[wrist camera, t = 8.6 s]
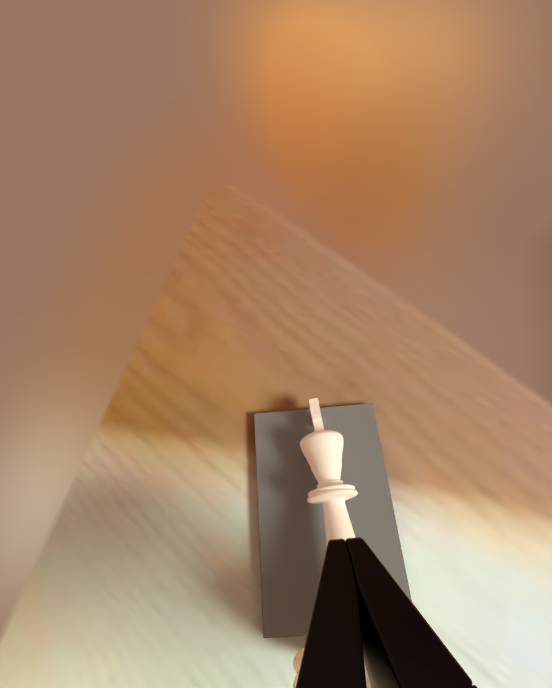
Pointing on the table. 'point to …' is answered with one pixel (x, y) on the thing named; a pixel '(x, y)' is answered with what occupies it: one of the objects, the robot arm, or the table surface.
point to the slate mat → (316, 509)
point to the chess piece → (327, 488)
